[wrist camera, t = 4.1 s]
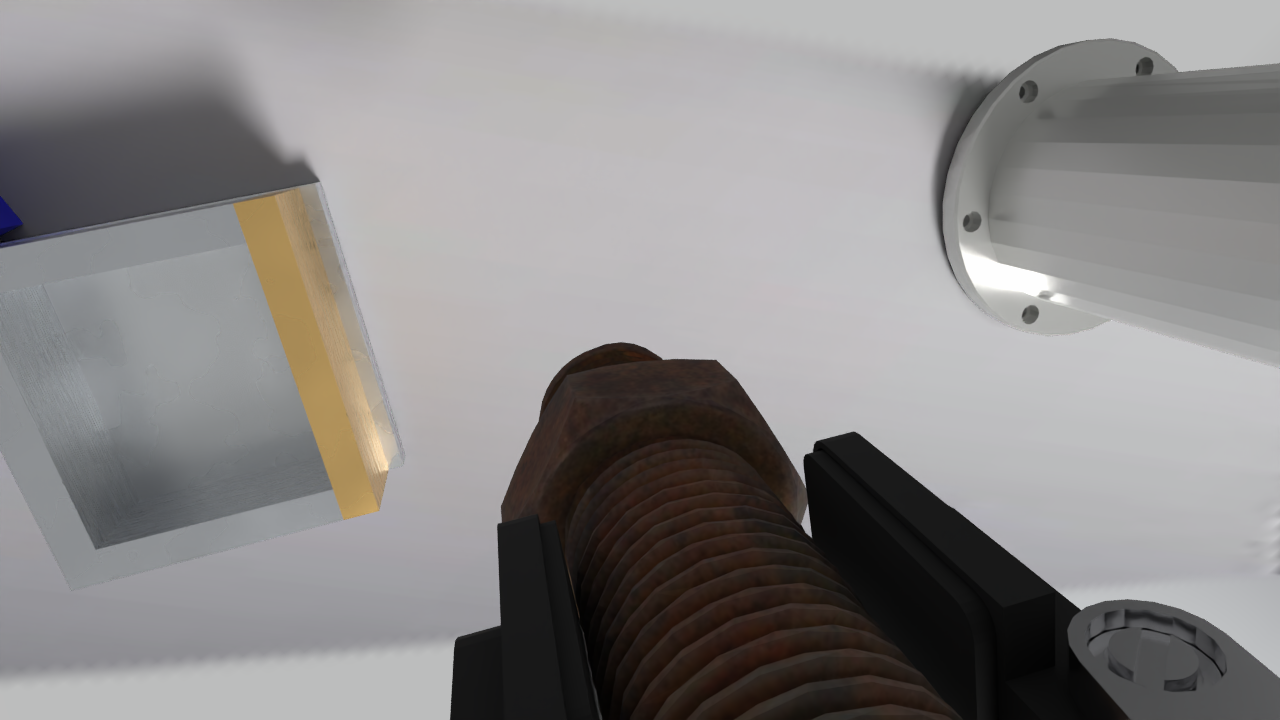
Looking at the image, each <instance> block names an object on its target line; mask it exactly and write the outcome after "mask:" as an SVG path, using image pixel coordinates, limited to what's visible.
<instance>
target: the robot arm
mask: <svg viewBox="0 0 1280 720" xmlns="http://www.w3.org/2000/svg"><path fill="white" fill-rule="evenodd" d="M943 234H944V239H945V245H946V250H947V256H948V258H949V261H950V264H951V266H952V269H953V271H954V274H955V276H956V279H957V281H958V282H959V284H960V285H961V287H962V288H963V290H964V291H965V293H966V294H967V296H968V297H969V299H970V300H971V301H973V302H974V303H975V304H976V305H977V306H978V307H979V308H980V309H981V310H982V311H983V312H984V313H985V314H987V315H988V316H990V317H992V318H994V319H995V320H997V321H999V322H1001V323H1002V324H1004V325H1007V326H1009V327H1012V328H1015V329H1018V330H1020V331H1023V332H1027V333H1033V334H1039V335H1045V336H1058V335H1072V334H1075V333H1079V332H1083V331H1087V330H1091V329H1094V328H1096V327H1098V326H1100V325H1102V324H1104V323H1107V322H1109V321H1111V320H1112V321H1116V322H1119V323H1123V324H1126V325H1130V326H1133V327H1137V328H1140V329H1144V330H1147V331H1151V332H1154V333H1158V334H1161V335H1165V336H1168V337H1172V338H1175V339H1179V340H1182V341H1186V342H1189V343H1193V344H1196V345H1200V346H1203V347H1207V348H1210V349H1213V350H1217V351H1220V352H1224V353H1227V354H1231V355H1234V356H1238V357H1241V358H1245V359H1248V360H1252V361H1255V362H1259V363H1262V364H1266V365H1269V366H1273V367H1276V368H1280V63H1279V64H1269V65H1256V66H1245V67H1234V68H1222V69H1211V70H1199V71H1188V72H1178V71H1177V70H1176V68H1175V67H1174V66H1172V65H1171V64H1170V63H1169V62H1168V61H1167V60H1165V59H1164V58H1163V57H1162V56H1160V55H1159V54H1158V53H1157V52H1155V51H1152V50H1150V49H1148V48H1146V47H1144V46H1142V45H1139V44H1137V43H1135V42H1128V41H1122V40H1117V39H1099V40H1086V41H1081V42H1076V43H1071V44H1066V45H1061V46H1057V47H1055V48H1053V49H1050V50H1048V51H1046V52H1043V53H1041V54H1039V55H1037V56H1034V57H1032V58H1031V59H1030V60H1028V61H1027V62H1025V63H1024V64H1022V65H1021V66H1019V67H1018V68H1016V69H1015V70H1013V71H1012V72H1011V73H1009V74H1008V75H1007V76H1006V77H1005V78H1004V79H1003V80H1002V81H1001V82H1000V83H999V84H998V85H997V86H996V87H995V88H994V89H993V90H992V91H991V92H990V93H989V94H988V95H987V97H986V98H985V100H984V101H983V102H982V104H981V105H980V106H979V108H978V109H977V110H976V112H975V113H974V114H973V116H972V117H971V119H970V121H969V123H968V125H967V127H966V129H965V131H964V132H963V134H962V136H961V138H960V140H959V142H958V144H957V147H956V150H955V153H954V156H953V159H952V162H951V165H950V168H949V171H948V174H947V180H946V186H945V192H944V198H943ZM804 473H805V481H806V490H807V498H808V506H809V515H810V523H811V532H812V539H813V540H814V542H815V544H816V546H817V547H818V548H819V549H820V550H821V551H823V552H824V553H825V555H826V557H827V559H828V561H829V562H830V563H831V564H833V565H834V566H835V567H836V568H837V569H838V571H839V573H840V575H841V577H842V578H843V579H844V580H845V581H846V582H847V583H848V584H849V585H850V586H851V588H852V589H853V591H854V592H855V594H856V595H857V596H858V598H859V599H860V601H861V602H862V605H863V607H864V609H865V610H866V611H867V612H868V613H869V615H870V616H871V617H872V618H873V619H874V620H875V621H876V622H877V624H878V625H879V626H880V628H881V629H882V630H883V632H884V633H885V634H886V635H887V636H888V637H889V638H890V639H891V640H892V641H893V642H894V643H895V644H896V646H897V647H898V648H899V649H900V650H901V651H902V653H903V654H904V655H905V656H906V657H907V659H908V660H909V661H910V662H911V664H912V665H913V666H914V667H915V668H916V670H918V671H920V672H921V673H922V674H923V676H924V677H925V678H926V679H927V681H928V682H929V683H930V684H931V685H932V687H933V688H934V689H935V690H936V692H937V693H938V694H939V695H940V697H941V698H942V699H943V700H944V702H945V703H947V704H948V705H950V706H951V707H952V708H953V710H954V711H955V712H956V713H957V714H958V715H959V716H960V717H961V718H962V719H963V720H1280V678H1279V677H1278V676H1277V675H1275V674H1274V673H1273V672H1272V671H1270V670H1269V669H1268V668H1267V667H1266V666H1265V665H1263V664H1262V663H1261V662H1260V661H1259V660H1257V659H1256V658H1255V657H1254V656H1252V655H1251V654H1250V653H1249V652H1248V651H1246V650H1245V649H1244V648H1243V647H1242V646H1240V645H1239V644H1238V643H1236V642H1235V641H1234V640H1233V639H1232V638H1231V637H1230V636H1228V635H1227V634H1226V633H1224V632H1223V631H1221V630H1220V629H1218V628H1217V627H1215V626H1214V625H1212V624H1211V623H1209V622H1208V621H1206V620H1205V619H1202V618H1200V617H1198V616H1195V615H1193V614H1191V613H1188V612H1186V611H1184V610H1181V609H1178V608H1175V607H1171V606H1167V605H1163V604H1159V603H1155V602H1149V601H1138V600H1128V599H1127V600H1114V601H1104V602H1101V603H1098V604H1095V605H1091V606H1088V607H1086V608H1084V609H1083V610H1082V611H1081V610H1080V609H1079V608H1078V607H1076V606H1075V605H1074V604H1073V603H1071V602H1070V601H1069V600H1068V599H1066V598H1065V597H1064V596H1063V595H1061V594H1060V593H1059V592H1058V591H1056V590H1055V589H1054V588H1053V587H1051V586H1050V585H1049V584H1048V583H1046V582H1045V581H1044V580H1043V579H1041V578H1040V577H1039V576H1038V575H1036V574H1035V573H1034V572H1033V571H1031V570H1030V569H1029V568H1028V567H1026V566H1025V565H1024V564H1023V563H1021V562H1020V561H1019V560H1018V559H1016V558H1015V557H1014V556H1013V555H1011V554H1010V553H1009V552H1008V551H1006V550H1005V549H1004V548H1003V547H1001V546H1000V545H999V544H998V543H996V542H995V541H994V540H993V539H991V538H990V537H989V536H988V535H986V534H985V533H984V532H983V531H981V530H980V529H979V528H978V527H976V526H975V525H974V524H973V523H971V522H970V521H969V520H968V519H966V518H965V517H964V516H963V515H961V514H960V513H959V512H958V511H956V510H955V509H954V508H952V507H950V506H948V505H947V504H945V503H944V502H943V501H942V500H940V499H939V498H938V497H937V496H935V495H934V494H933V493H932V492H930V491H929V490H928V489H927V488H926V487H924V486H923V485H922V484H921V483H919V482H918V481H917V480H916V479H914V478H913V477H912V476H911V475H909V474H908V473H907V472H906V471H904V470H903V469H902V468H901V467H899V466H898V465H897V464H896V463H894V462H893V461H892V460H891V459H889V458H888V457H887V456H886V455H884V454H883V453H882V452H881V451H879V450H878V449H877V448H876V447H874V446H873V445H872V444H871V443H869V442H868V441H867V440H866V439H865V438H863V437H862V436H861V435H860V434H858V433H856V432H850V433H846V434H842V435H839V436H835V437H831V438H827V439H823V440H819V441H816V442H815V444H814V449H813V453H809V454H806V455H805V456H804ZM497 531H498V558H499V586H500V613H501V625H500V626H497V627H493V628H490V629H486V630H482V631H479V632H475V633H472V634H468V635H464V636H461V637H458V638H457V639H456V640H455V647H454V661H453V681H452V698H451V715H450V720H602V716H601V713H600V711H599V705H598V698H597V691H596V689H595V687H594V684H593V681H592V672H591V669H590V666H589V663H588V660H587V654H588V653H587V648H586V643H585V638H584V634H583V630H582V628H581V626H580V618H579V614H578V610H577V605H576V601H575V597H574V593H573V589H572V585H571V581H570V577H569V573H568V569H567V565H566V561H565V557H564V552H563V548H562V544H561V540H560V536H559V532H558V528H557V524H556V521H555V520H553V521H549V522H545V523H542V524H541V523H540V520H539V516H538V514H534V515H530V516H526V517H522V518H518V519H515V520H511V521H507V522H503V523H499V524H498V526H497Z"/></svg>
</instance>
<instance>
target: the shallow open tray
mask: <svg viewBox="0 0 1280 720" xmlns="http://www.w3.org/2000/svg"><path fill="white" fill-rule="evenodd" d="M0 451H1V453H2V455H3V457H4V459H5V461H6V463H7V465H8V467H9V469H10V471H11V473H12V475H13V477H14V479H15V481H16V483H17V485H18V487H19V489H20V491H21V493H22V495H23V497H24V499H25V501H26V503H27V505H28V507H29V509H30V511H31V513H32V515H33V517H34V518H35V520H36V522H37V524H38V526H39V528H40V530H41V532H42V534H43V536H44V538H45V540H46V542H47V544H48V546H49V548H50V550H51V552H52V554H53V556H54V558H55V560H56V562H57V564H58V566H59V568H60V570H61V572H62V574H63V576H64V578H65V580H66V582H67V584H68V586H69V588H70V590H71V591H74V590H78V589H81V588H85V587H89V586H93V585H97V584H100V583H104V582H108V581H112V580H116V579H120V578H123V577H127V576H131V575H135V574H139V573H143V572H146V571H150V570H154V569H158V568H162V567H166V566H169V565H173V564H177V563H181V562H185V561H189V560H192V559H196V558H200V557H204V556H208V555H212V554H215V553H219V552H223V551H227V550H231V549H235V548H238V547H242V546H246V545H250V544H254V543H257V542H261V541H265V540H269V539H273V538H277V537H280V536H284V535H288V534H292V533H296V532H300V531H303V530H307V529H311V528H315V527H319V526H323V525H326V524H330V523H334V522H338V521H342V520H346V519H349V518H353V517H357V516H361V515H365V514H369V513H372V512H376V511H379V509H380V505H381V500H382V496H383V492H384V487H385V483H386V478H387V474H388V470H390V469H394V468H398V467H402V466H403V465H404V460H405V453H404V450H403V447H402V444H401V440H400V437H399V434H398V431H397V428H396V424H395V421H394V418H393V415H392V411H391V408H390V405H389V402H388V399H387V395H386V392H385V389H384V386H383V382H382V379H381V376H380V373H379V370H378V366H377V363H376V360H375V357H374V353H373V350H372V347H371V344H370V341H369V337H368V334H367V331H366V328H365V324H364V321H363V318H362V315H361V312H360V308H359V305H358V302H357V299H356V295H355V292H354V289H353V286H352V283H351V279H350V276H349V273H348V270H347V266H346V263H345V260H344V257H343V254H342V250H341V247H340V244H339V241H338V237H337V234H336V231H335V228H334V225H333V221H332V218H331V215H330V212H329V208H328V205H327V202H326V199H325V195H324V192H323V189H322V186H321V183H320V182H315V183H310V184H305V185H300V186H295V187H289V188H284V189H279V190H274V191H269V192H263V193H258V194H253V195H248V196H242V197H237V198H232V199H227V200H222V201H216V202H211V203H206V204H201V205H196V206H190V207H185V208H180V209H175V210H170V211H164V212H159V213H154V214H149V215H143V216H138V217H133V218H128V219H123V220H117V221H112V222H107V223H102V224H97V225H91V226H86V227H81V228H76V229H71V230H65V231H60V232H55V233H50V234H44V235H39V236H34V237H29V238H24V239H18V240H13V241H8V242H3V243H0Z"/></svg>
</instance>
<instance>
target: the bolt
mask: <svg viewBox="0 0 1280 720" xmlns="http://www.w3.org/2000/svg"><path fill="white" fill-rule="evenodd" d="M807 504H808V498H807V490H806V488H805V486H804V484H803V482H802V480H801V478H800V476H799V474H798V473H797V471H796V469H795V468H794V466H793V464H792V463H791V461H790V459H789V458H788V456H787V454H786V452H785V451H784V449H783V448H782V446H781V444H780V443H779V441H778V440H777V438H776V437H775V435H774V434H773V432H772V431H771V429H770V427H769V426H768V424H767V423H766V421H765V420H764V418H763V417H762V415H761V414H760V412H759V411H758V409H757V408H756V406H755V405H754V404H753V402H752V401H751V399H750V398H749V396H748V395H747V394H746V392H745V391H744V389H743V388H742V386H741V385H740V384H739V382H738V381H737V379H735V378H734V377H733V376H732V375H731V374H730V373H729V372H728V371H727V370H726V369H725V368H724V367H723V366H722V365H721V364H720V363H719V362H718V361H717V360H692V359H671V360H662V358H661V357H659V356H657V355H656V354H654V353H652V352H651V351H649V350H648V349H646V348H644V347H641V346H638V345H635V344H630V343H622V342H620V343H612V344H605V345H602V346H600V347H597V348H594V349H592V350H589V351H586V352H584V353H582V354H581V355H579V356H577V357H575V358H574V359H572V360H571V361H570V362H569V363H567V364H566V365H565V366H564V367H563V368H562V369H561V370H560V371H559V372H558V373H557V374H556V376H555V377H554V378H553V380H552V381H551V383H550V385H549V387H548V388H547V390H546V393H545V396H544V398H543V401H542V406H541V411H540V417H539V422H538V424H537V425H536V427H535V429H534V431H533V433H532V435H531V437H530V439H529V441H528V443H527V446H526V448H525V450H524V452H523V454H522V456H521V458H520V461H519V463H518V465H517V467H516V470H515V472H514V475H513V477H512V480H511V482H510V485H509V487H508V490H507V493H506V495H505V498H504V500H503V503H502V505H501V514H502V523H503V522H507V521H511V520H515V519H518V518H522V517H526V516H530V515H534V514H538V516H539V520H540V523H541V524H542V523H545V522H549V521H553V520H555V521H556V524H557V528H558V532H559V536H560V540H561V544H562V548H563V552H564V557H565V561H566V565H567V569H568V573H569V577H570V581H571V585H572V589H573V593H574V597H575V601H576V605H577V610H578V614H579V618H580V626H581V628H582V630H583V634H584V638H585V643H586V648H587V653H588V654H587V660H588V663H589V666H590V669H591V672H592V681H593V684H594V687H595V689H596V691H597V698H598V705H599V711H600V713H601V716H602V720H963V719H962V718H961V717H960V716H959V715H958V714H957V713H956V712H955V711H954V710H953V708H952V707H951V706H950V705H948V704H947V703H945V702H944V700H943V699H942V698H941V697H940V695H939V694H938V693H937V692H936V690H935V689H934V688H933V687H932V685H931V684H930V683H929V682H928V681H927V679H926V678H925V677H924V676H923V674H922V673H921V672H920V671H918V670H916V668H915V667H914V666H913V665H912V664H911V662H910V661H909V660H908V659H907V657H906V656H905V655H904V654H903V653H902V651H901V650H900V649H899V648H898V647H897V646H896V644H895V643H894V642H893V641H892V640H891V639H890V638H889V637H888V636H887V635H886V634H885V633H884V632H883V630H882V629H881V628H880V626H879V625H878V624H877V622H876V621H875V620H874V619H873V618H872V617H871V616H870V615H869V613H868V612H867V611H866V610H865V609H864V607H863V605H862V602H861V601H860V599H859V598H858V596H857V595H856V594H855V592H854V591H853V589H852V588H851V586H850V585H849V584H848V583H847V582H846V581H845V580H844V579H843V578H842V577H841V575H840V573H839V571H838V569H837V568H836V567H835V566H834V565H833V564H831V563H830V562H829V561H828V559H827V557H826V555H825V553H824V552H823V551H821V550H820V549H819V548H818V547H817V546H816V544H815V542H814V540H813V539H812V538H811V537H810V536H809V535H807V534H806V533H805V531H804V529H803V527H802V525H801V523H802V520H803V516H804V513H805V510H806V507H807Z"/></svg>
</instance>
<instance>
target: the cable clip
mask: <svg viewBox="0 0 1280 720" xmlns="http://www.w3.org/2000/svg"><path fill="white" fill-rule="evenodd" d="M22 224H23V223H22V222H21V220H20V219H19V218H18V217H17V215H16V214H15V213H14V212H13V211H12V209H11V208H10V207H9V206H8V205H7V203H6V202H5V201H4V200H3V198H2V197H1V196H0V236H1V235H3V234H5V233H7V232H9V231H11V230H13V229H15V228H16V227H18V226H20V225H22Z"/></svg>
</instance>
